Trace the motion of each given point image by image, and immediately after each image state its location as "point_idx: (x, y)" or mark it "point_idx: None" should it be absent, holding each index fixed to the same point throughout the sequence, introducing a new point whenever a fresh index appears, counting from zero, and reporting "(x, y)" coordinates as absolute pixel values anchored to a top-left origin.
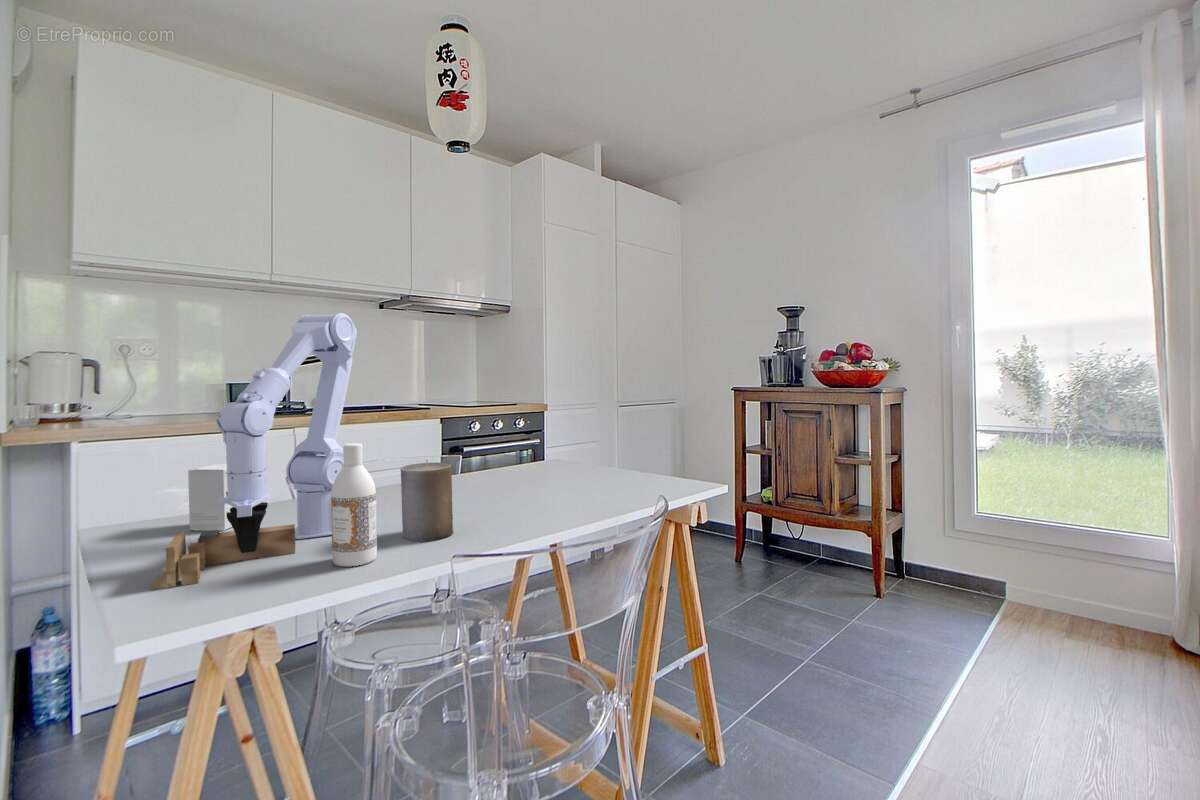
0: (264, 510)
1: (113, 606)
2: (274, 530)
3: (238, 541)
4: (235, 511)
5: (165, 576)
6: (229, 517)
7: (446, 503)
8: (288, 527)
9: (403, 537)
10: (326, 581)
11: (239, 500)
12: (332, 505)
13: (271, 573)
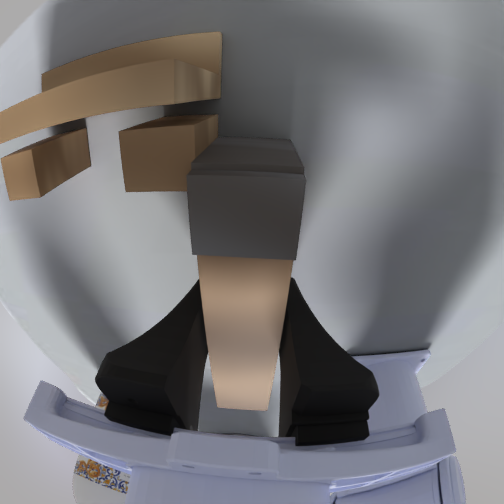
0: (279, 430)
1: (4, 50)
2: (214, 384)
3: (185, 297)
4: (296, 391)
5: (100, 72)
6: (100, 369)
7: None
8: (234, 402)
9: (235, 434)
10: (59, 347)
11: (131, 466)
12: (88, 464)
13: (93, 303)
